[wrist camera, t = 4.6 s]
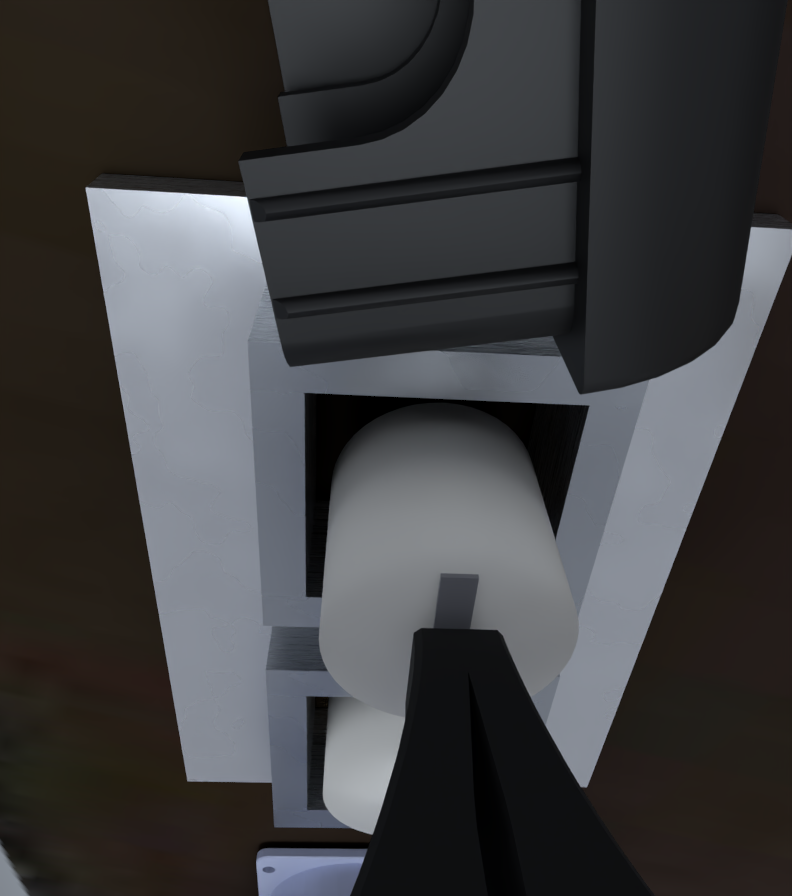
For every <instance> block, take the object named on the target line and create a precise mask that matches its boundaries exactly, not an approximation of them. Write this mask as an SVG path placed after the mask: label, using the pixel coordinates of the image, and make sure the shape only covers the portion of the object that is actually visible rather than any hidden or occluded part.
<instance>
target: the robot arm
mask: <svg viewBox="0 0 792 896" xmlns="http://www.w3.org/2000/svg"><path fill="white" fill-rule="evenodd" d="M256 867H257V879H258V891H259V896H655V895H654V894H653V892H652V891H651V890H650V888H649V887H648V886H647V885H646V883H645V882H644V880H643V879H642V878H641V876H640V875H639V873H638V872H637V871H636V869H635V868H634V866H633V865H632V864H631V862H630V861H629V859H628V858H627V857H626V855H625V854H624V852H623V851H622V850H621V848H620V847H619V845H618V844H617V842H616V841H615V839H614V838H613V836H612V835H611V833H610V832H609V830H608V829H607V827H606V826H605V824H604V823H603V821H602V820H601V818H600V817H599V815H598V814H597V812H596V810H595V809H594V807H593V806H592V804H591V802H590V801H589V799H588V798H587V796H586V795H585V793H584V791H583V790H582V788H581V787H580V785H579V783H578V782H577V780H576V778H575V777H574V775H573V773H572V772H571V770H570V768H569V767H568V765H567V763H566V761H565V760H564V758H563V756H562V754H561V752H560V751H559V749H558V747H557V745H556V744H555V742H554V740H553V738H552V736H551V735H550V733H549V731H548V729H547V728H546V726H545V724H544V722H543V720H542V718H541V716H540V714H539V713H538V711H537V709H536V707H535V705H534V703H533V701H532V699H531V697H530V695H529V693H528V691H527V689H526V687H525V685H524V683H523V680H522V678H521V676H520V674H519V672H518V670H517V668H516V665H515V663H514V661H513V659H512V656H511V654H510V652H509V649H508V647H507V645H506V642H505V640H504V637H503V635H502V634H501V633H500V632H499V631H498V630H481V629H443V628H420V629H419V630H417V631H416V632H414V634H413V642H412V651H411V659H410V668H409V676H408V685H407V693H406V702H405V723H404V727H403V731H402V736H401V740H400V745H399V749H398V753H397V757H396V761H395V764H394V767H393V771H392V774H391V778H390V781H389V784H388V788H387V791H386V794H385V798H384V801H383V805H382V808H381V811H380V814H379V817H378V820H377V823H376V826H375V829H374V832H373V835H372V838H371V841H370V844H369V847H368V849H341V848H264V849H261V850H260V851H259V852H258V853H257V859H256Z"/></svg>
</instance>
